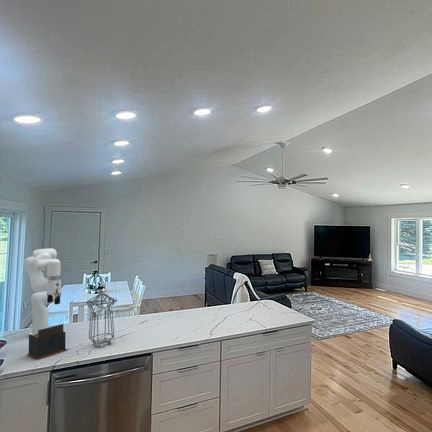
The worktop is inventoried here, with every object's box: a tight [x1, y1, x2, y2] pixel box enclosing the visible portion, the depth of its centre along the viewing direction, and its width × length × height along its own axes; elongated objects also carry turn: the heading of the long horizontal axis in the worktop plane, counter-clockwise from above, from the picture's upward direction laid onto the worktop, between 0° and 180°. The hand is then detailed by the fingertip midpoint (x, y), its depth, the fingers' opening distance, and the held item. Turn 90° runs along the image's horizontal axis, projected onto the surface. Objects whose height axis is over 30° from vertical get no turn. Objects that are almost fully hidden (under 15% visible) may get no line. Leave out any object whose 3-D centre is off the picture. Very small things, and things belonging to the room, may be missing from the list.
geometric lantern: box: [85, 292, 119, 348], centre depth 226 cm, size 16×16×35 cm
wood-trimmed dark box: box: [27, 330, 67, 360], centre depth 212 cm, size 14×16×12 cm
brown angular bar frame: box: [28, 323, 64, 339], centre depth 213 cm, size 13×14×5 cm
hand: (53, 303), depth 226 cm, fingers open, 9 cm apart
